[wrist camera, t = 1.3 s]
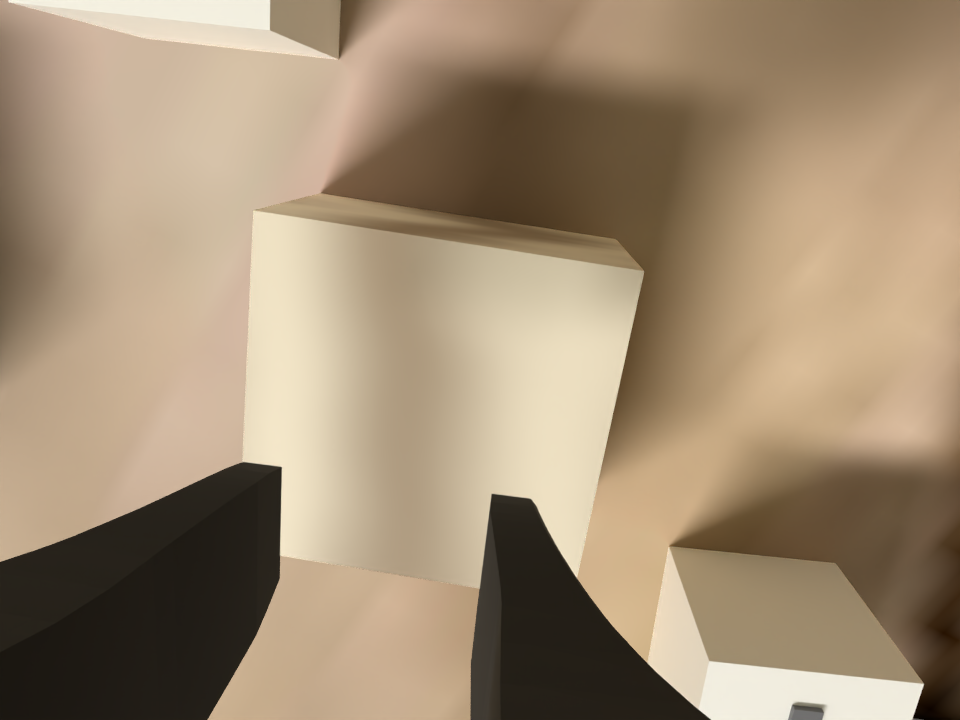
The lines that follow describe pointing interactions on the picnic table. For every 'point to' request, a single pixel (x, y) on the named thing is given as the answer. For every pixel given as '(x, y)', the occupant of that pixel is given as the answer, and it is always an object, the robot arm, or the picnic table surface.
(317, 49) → the numbered cube seven
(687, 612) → the white marked cube
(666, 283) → the picnic table surface
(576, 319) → the plain block
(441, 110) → the picnic table surface
